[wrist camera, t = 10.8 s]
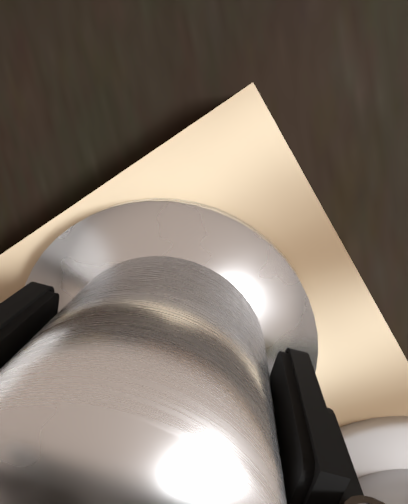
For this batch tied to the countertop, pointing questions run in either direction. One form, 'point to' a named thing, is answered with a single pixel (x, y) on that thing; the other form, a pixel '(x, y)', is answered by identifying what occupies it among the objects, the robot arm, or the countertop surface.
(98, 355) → the silver rounded knobbed piece
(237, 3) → the countertop surface
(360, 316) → the wooden board with knobs
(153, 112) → the countertop surface
